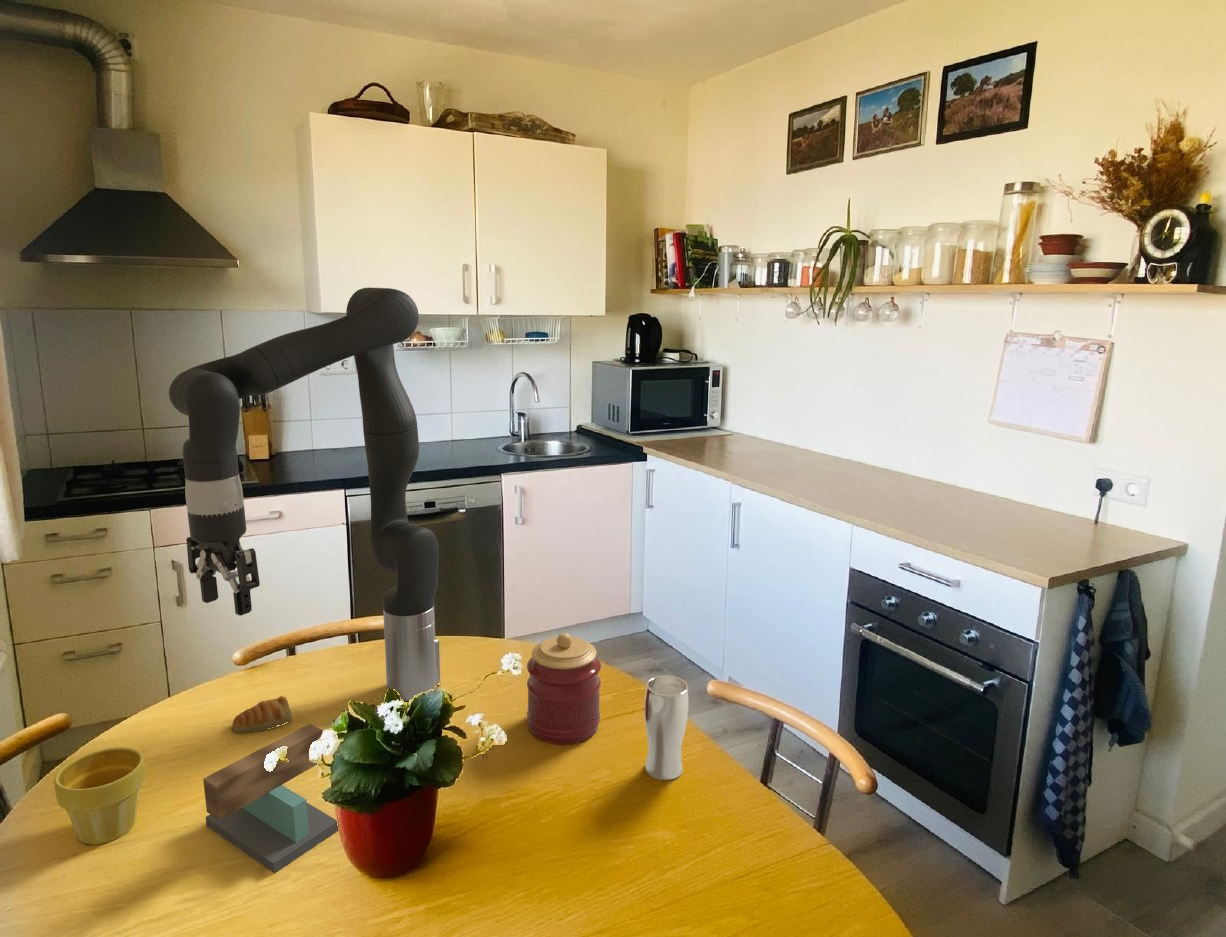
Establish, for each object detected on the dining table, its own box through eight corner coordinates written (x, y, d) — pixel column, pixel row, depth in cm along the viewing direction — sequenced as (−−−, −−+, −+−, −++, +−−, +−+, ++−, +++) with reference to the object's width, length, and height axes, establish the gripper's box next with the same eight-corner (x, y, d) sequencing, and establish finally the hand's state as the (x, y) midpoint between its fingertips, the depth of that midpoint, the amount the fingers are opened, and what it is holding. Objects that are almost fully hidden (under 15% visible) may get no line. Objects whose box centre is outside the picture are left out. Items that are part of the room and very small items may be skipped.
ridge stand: (270, 789, 116) (267, 748, 114) (338, 830, 107) (335, 786, 106) (206, 825, 108) (201, 782, 106) (274, 873, 99) (270, 827, 98)
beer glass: (662, 788, 118) (666, 701, 115) (633, 766, 124) (636, 683, 120) (694, 771, 123) (698, 687, 119) (664, 751, 128) (668, 670, 125)
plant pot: (157, 798, 113) (150, 739, 111) (143, 844, 104) (134, 781, 102) (75, 813, 110) (66, 753, 107) (53, 862, 100) (42, 797, 98)
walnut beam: (311, 753, 113) (309, 723, 112) (324, 760, 112) (322, 729, 111) (206, 811, 100) (203, 778, 99) (219, 820, 99) (216, 786, 98)
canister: (598, 747, 129) (600, 652, 125) (522, 745, 129) (521, 649, 125) (601, 707, 141) (603, 619, 137) (531, 704, 142) (531, 617, 138)
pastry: (238, 741, 128) (236, 721, 127) (229, 723, 133) (227, 704, 133) (295, 723, 134) (294, 704, 133) (284, 707, 139) (283, 688, 138)
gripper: (268, 507, 112) (277, 609, 116) (211, 492, 119) (222, 589, 123) (220, 519, 106) (231, 627, 109) (163, 503, 113) (176, 605, 116)
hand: (226, 607), depth 116 cm, fingers open, 8 cm apart
